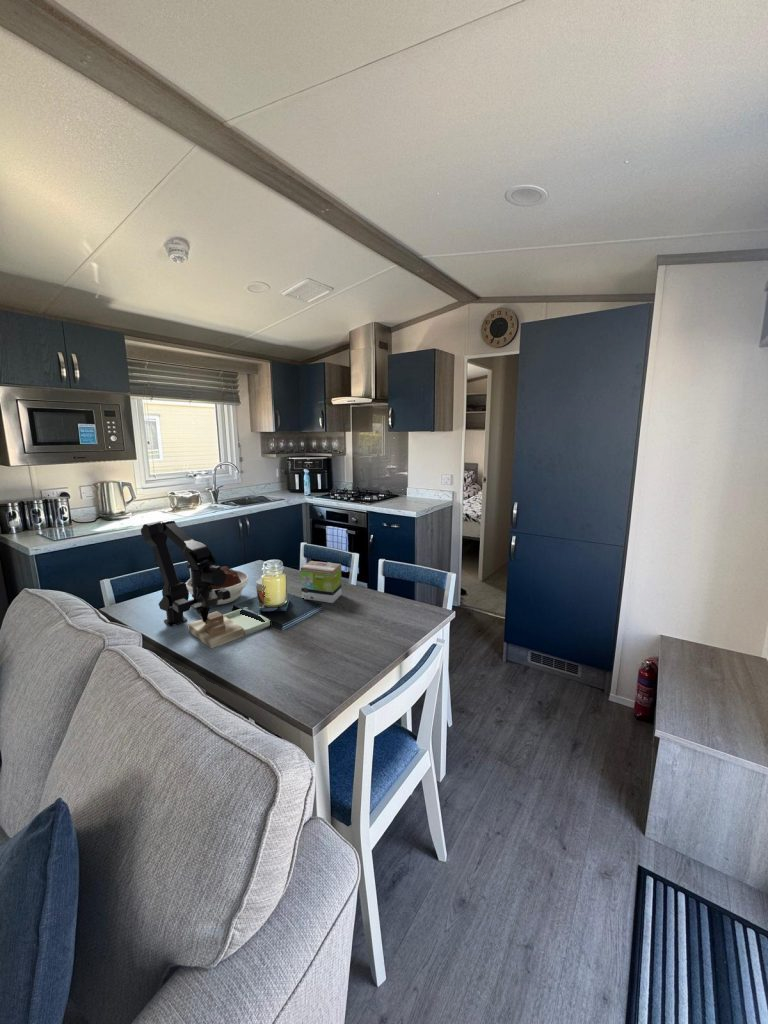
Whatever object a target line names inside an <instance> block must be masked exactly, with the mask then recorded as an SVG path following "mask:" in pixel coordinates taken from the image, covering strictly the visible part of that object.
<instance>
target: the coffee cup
mask: <svg viewBox="0 0 768 1024" xmlns="http://www.w3.org/2000/svg"><path fill="white" fill-rule="evenodd" d="M262 578H263V577H261V578H259V579H257V580H256V581H255V587H256V588H255V589H256V593H257V594H256V595H257V602H258V607H259V606H260V607H262V606H263V605H264V597H265V596H264V595H265V592H264V590H265V588H266V586H265V587H264V584H262ZM262 585H263V586H262ZM262 588H263V589H262ZM262 591H263V593H262Z"/></svg>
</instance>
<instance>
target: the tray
mask: <svg viewBox="0 0 768 1024" xmlns="http://www.w3.org/2000/svg"><path fill="white" fill-rule="evenodd" d="M243 608H248V607H247V606H245V607H243ZM241 610H242V609H241V608H239V609H236V610H232V611H231V612H227V613H224V614H222V615H223V616H225V617H226V618H228V619H230V620H231V621H233V622H235V623H236V624H238V625H239V626H241V627H243V628H244V636H243V637H245V636H248V635H250V634H253V633H255V632H258V631H261V630H264V629H266V628H268V627H271V626H270V621H271V619H269V618H267V617H266V616H264V615H261V614H260V615H258V616H260V617H261V618H262V619H263V620H264V621H265V622H261V621H259V620H256V619H254V618H251V617H248V616H245V615H242V614H240V611H241ZM271 622H272V621H271Z"/></svg>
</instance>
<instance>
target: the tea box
mask: <svg viewBox="0 0 768 1024" xmlns="http://www.w3.org/2000/svg"><path fill="white" fill-rule="evenodd" d="M300 587H301V591H300V592H301V599H302V598H304V599H303V600H310V601H315V602H316V601H317V602H323V603H329V604H333V603H334V602H336V601H337V599H339V598H340V597H341V596H342V564H341V563H336V562H335V563H333V562H324V561H316V560H315V561H314V560H310V561H308V562H307V563H305V564H304V565H302V566H301V567H300Z"/></svg>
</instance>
